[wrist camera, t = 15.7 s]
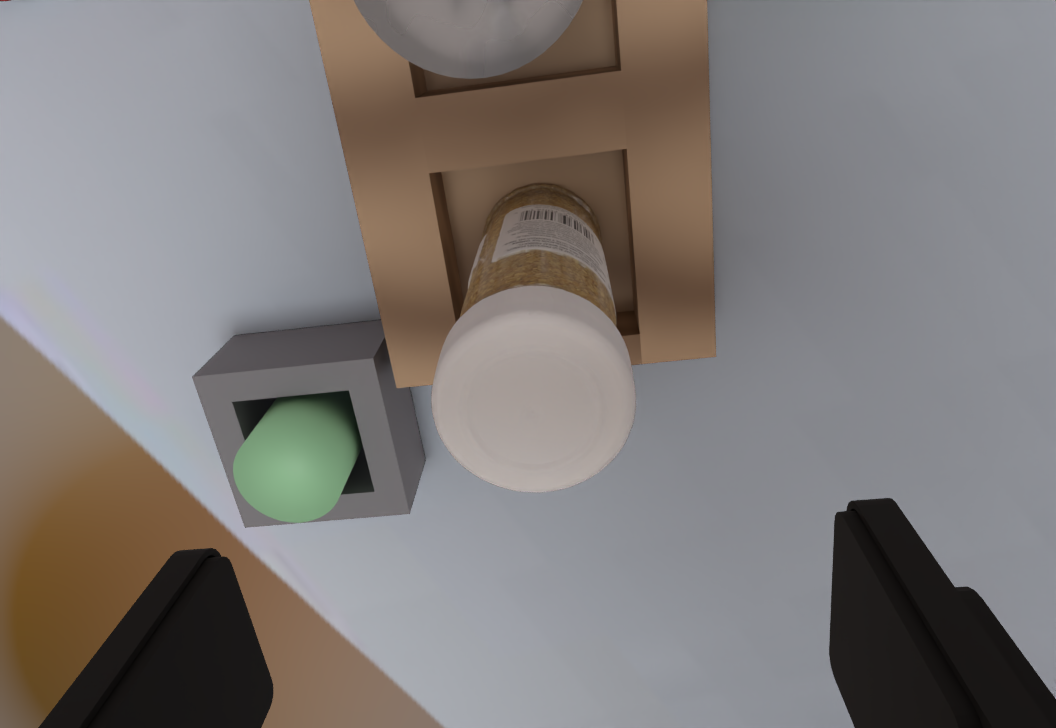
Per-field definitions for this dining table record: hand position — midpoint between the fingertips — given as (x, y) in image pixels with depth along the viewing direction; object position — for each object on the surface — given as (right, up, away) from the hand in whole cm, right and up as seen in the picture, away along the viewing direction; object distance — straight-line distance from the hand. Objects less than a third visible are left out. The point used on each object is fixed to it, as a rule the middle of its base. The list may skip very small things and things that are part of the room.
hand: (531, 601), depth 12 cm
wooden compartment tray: (0, +13, +16) cm, 21 cm away
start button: (-9, +1, +20) cm, 22 cm away
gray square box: (-9, +2, +21) cm, 23 cm away
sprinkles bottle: (+1, +8, +17) cm, 19 cm away
